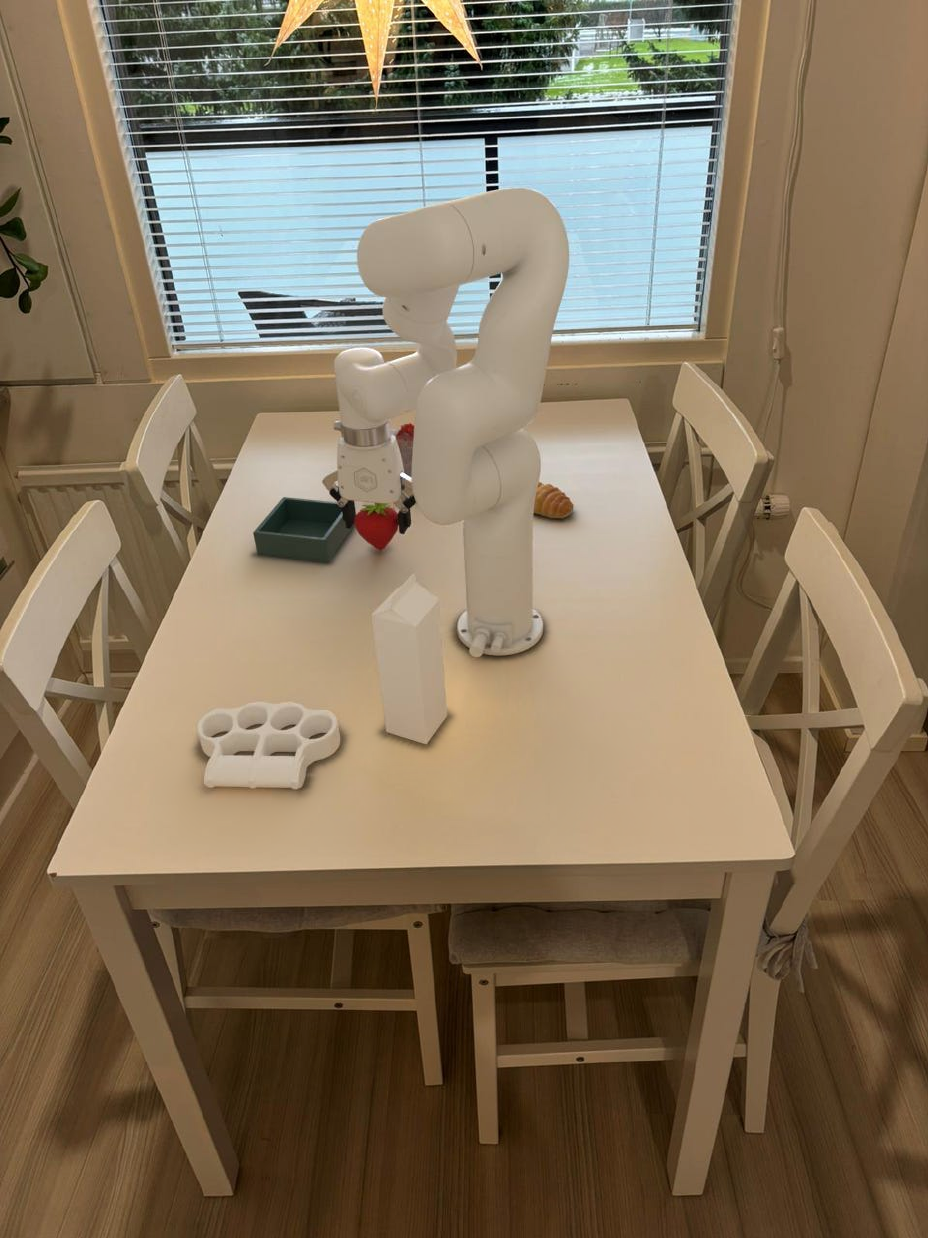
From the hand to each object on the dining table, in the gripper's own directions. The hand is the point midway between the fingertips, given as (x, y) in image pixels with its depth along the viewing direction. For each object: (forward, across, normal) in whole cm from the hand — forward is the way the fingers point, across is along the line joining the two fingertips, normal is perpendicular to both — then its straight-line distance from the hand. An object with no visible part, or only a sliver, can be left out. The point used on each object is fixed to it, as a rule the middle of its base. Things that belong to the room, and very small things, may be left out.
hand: (377, 527), depth 154 cm
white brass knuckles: (+5, +2, -49) cm, 49 cm away
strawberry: (+5, 0, 0) cm, 5 cm away
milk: (+5, +19, -40) cm, 44 cm away
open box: (+4, -14, 0) cm, 14 cm away
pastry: (+5, +25, +19) cm, 32 cm away
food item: (+4, -3, +27) cm, 28 cm away
